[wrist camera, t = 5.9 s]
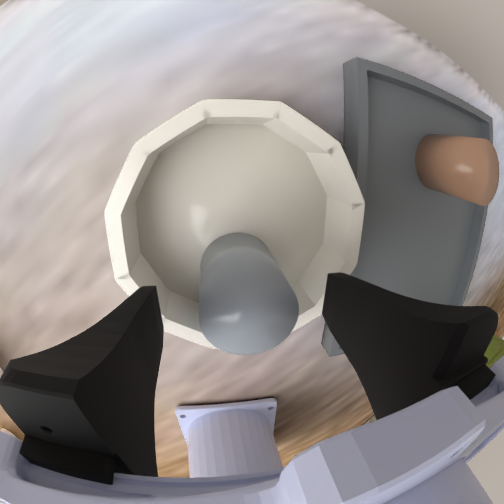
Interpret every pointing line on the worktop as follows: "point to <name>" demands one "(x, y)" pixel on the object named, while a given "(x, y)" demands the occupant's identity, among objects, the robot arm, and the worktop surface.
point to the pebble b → (458, 166)
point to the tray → (408, 187)
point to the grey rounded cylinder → (244, 296)
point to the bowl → (233, 204)
